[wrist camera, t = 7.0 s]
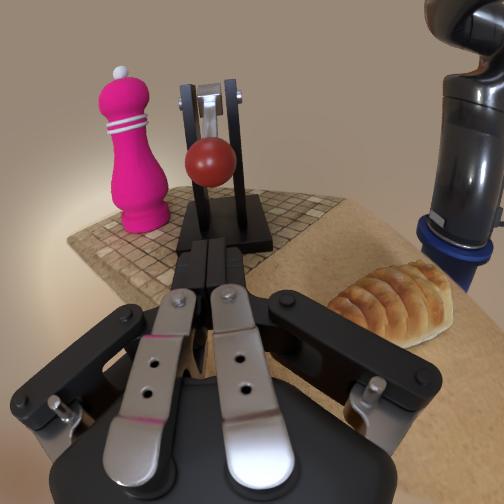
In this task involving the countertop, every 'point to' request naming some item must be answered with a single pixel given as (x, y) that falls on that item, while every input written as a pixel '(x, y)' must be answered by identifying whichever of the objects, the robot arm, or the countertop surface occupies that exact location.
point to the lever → (210, 143)
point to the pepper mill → (133, 155)
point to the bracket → (229, 208)
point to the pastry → (399, 303)
